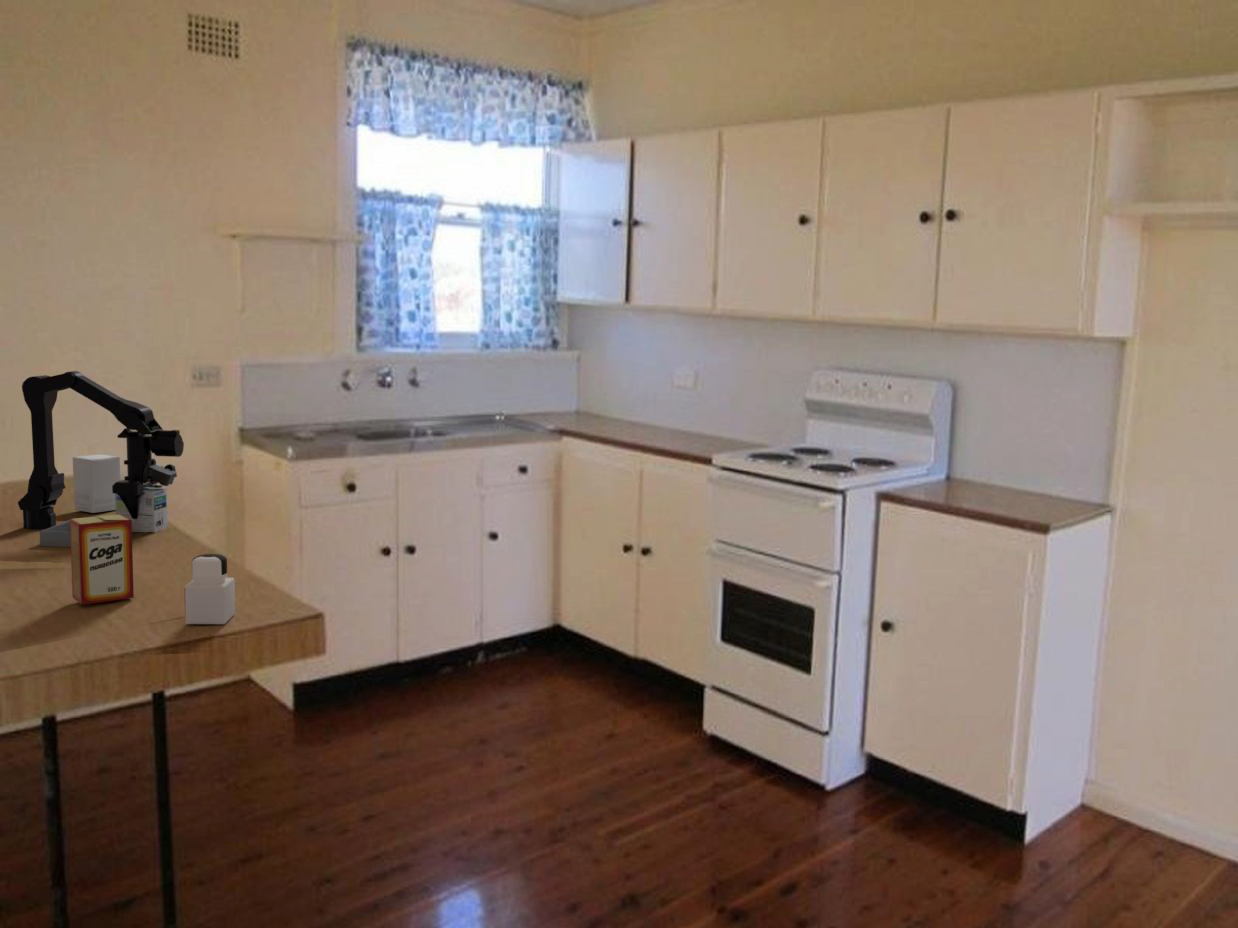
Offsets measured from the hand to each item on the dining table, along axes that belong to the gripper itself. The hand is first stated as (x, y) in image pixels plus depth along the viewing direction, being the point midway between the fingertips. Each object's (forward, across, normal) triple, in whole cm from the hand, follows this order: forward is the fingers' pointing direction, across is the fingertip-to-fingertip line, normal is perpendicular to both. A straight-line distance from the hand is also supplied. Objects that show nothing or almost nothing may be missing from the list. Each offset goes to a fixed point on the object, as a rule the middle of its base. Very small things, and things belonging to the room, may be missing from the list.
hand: (141, 516), depth 275 cm
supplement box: (+4, +26, +23) cm, 35 cm away
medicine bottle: (+4, -78, -46) cm, 90 cm away
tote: (+4, -14, +7) cm, 16 cm away
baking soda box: (+4, -65, -20) cm, 68 cm away
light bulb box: (+4, 0, 0) cm, 4 cm away
